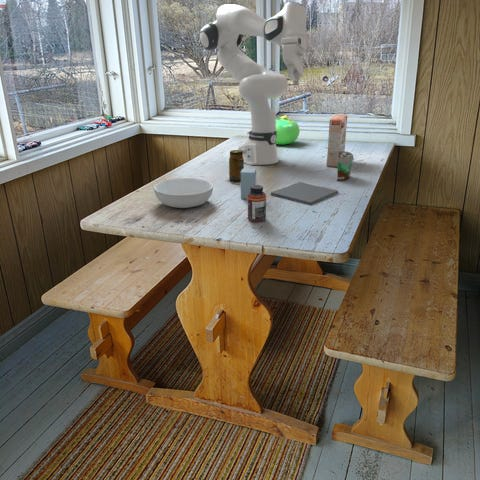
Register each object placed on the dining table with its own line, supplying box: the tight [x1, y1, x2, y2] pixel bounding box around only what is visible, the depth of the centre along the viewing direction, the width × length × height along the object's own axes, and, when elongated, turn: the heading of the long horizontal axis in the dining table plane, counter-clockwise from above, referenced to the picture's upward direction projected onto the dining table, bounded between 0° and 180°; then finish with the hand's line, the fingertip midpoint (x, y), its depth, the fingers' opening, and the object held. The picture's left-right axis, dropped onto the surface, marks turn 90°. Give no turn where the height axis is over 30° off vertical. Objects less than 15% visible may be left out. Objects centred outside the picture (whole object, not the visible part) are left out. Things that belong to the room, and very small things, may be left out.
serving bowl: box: [153, 177, 214, 209], centre depth 181 cm, size 21×21×7 cm
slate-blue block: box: [240, 168, 257, 200], centre depth 187 cm, size 5×5×10 cm
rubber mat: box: [270, 181, 339, 206], centre depth 190 cm, size 18×18×1 cm
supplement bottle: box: [247, 184, 267, 223], centre depth 164 cm, size 6×6×11 cm
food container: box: [336, 151, 355, 182], centre depth 207 cm, size 12×6×10 cm, turn 168°
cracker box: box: [326, 114, 348, 168], centre depth 227 cm, size 14×6×21 cm, turn 160°
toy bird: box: [276, 114, 300, 146], centre depth 267 cm, size 18×17×15 cm
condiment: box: [225, 149, 245, 184], centre depth 206 cm, size 7×8×12 cm
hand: (293, 82), depth 194 cm, fingers open, 8 cm apart
